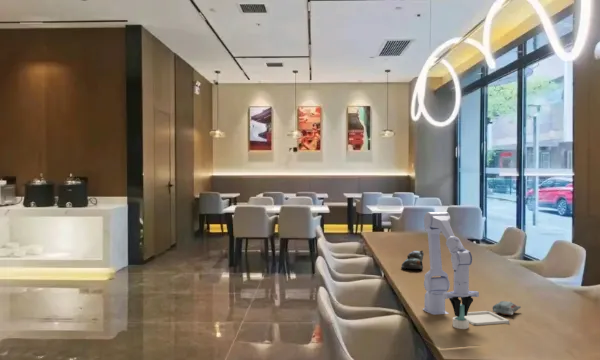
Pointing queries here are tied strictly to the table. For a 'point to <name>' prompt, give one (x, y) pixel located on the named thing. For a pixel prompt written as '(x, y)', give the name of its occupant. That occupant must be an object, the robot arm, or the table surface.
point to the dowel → (461, 313)
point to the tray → (485, 318)
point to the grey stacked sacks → (413, 260)
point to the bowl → (460, 323)
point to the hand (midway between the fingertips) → (460, 315)
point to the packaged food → (505, 308)
